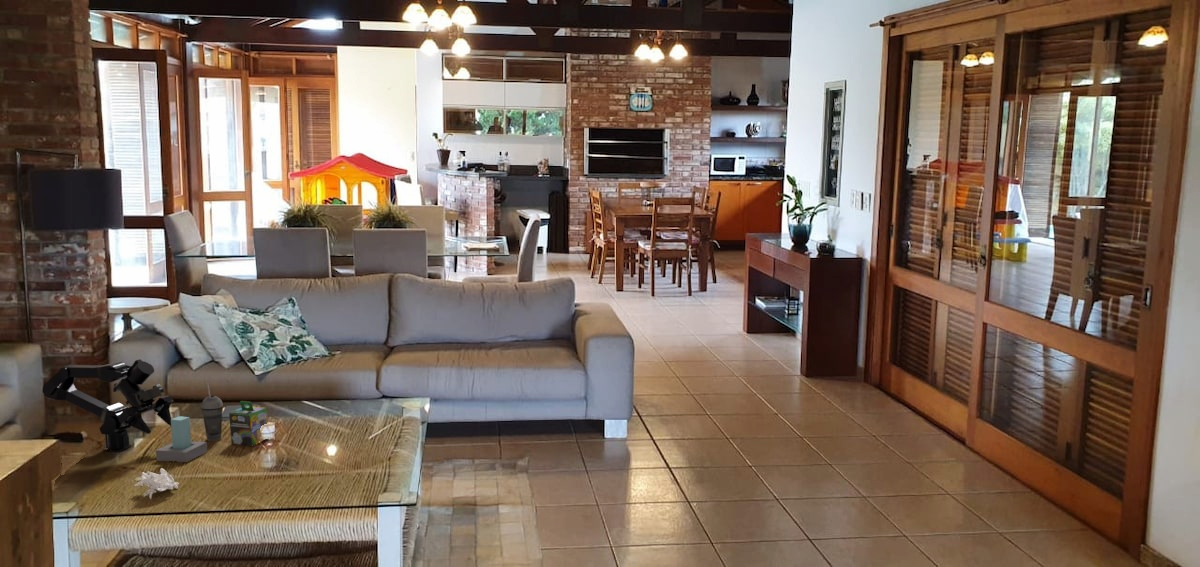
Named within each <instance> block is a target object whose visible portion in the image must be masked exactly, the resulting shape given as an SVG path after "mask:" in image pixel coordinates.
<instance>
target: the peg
mask: <svg viewBox="0 0 1200 567" xmlns="http://www.w3.org/2000/svg"><path fill="white" fill-rule="evenodd" d="M190 418H191V417H189V416H182V415H181V416H177V417H174V418H171V426H170V428H171V430H170V431H171V443H172V446H173V449H186V448H188V447H190V446H191V441H192V437H191V435H192V434H191V420H190Z"/></svg>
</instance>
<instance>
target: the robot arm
mask: <svg viewBox="0 0 1200 567" xmlns="http://www.w3.org/2000/svg"><path fill="white" fill-rule="evenodd" d="M154 373H155V368H154V366H153V365H152V364H151V363H149V362H146V361H143V360H142V359H140V358H139V359H135V361H134V362H133V364H131V365H128V364H126V363H125V362H123V361H117V362H112V363H111V362H110V363H108V364H104V365H100V364H99V365H95V364H93V365H92V364H91V365H90V364H73V363H72V364H69V365H68V364H67V365H64V366H62V367H61V368H59V370H58V371H57V372H56V374H54V375H53V376H52V377H50V379H48V381H47V382H45V383H44V384H43V386H42V394H43V396H44V397H45V398H47V399H49V400H53V401H60V402H61V401H62V402H67V403H70V404H72V405H74V406H76V407H78V408H79V409H82V410H83V411H85V412H88V413H90V414H92V415H94V416H96V417H98V418H100V420H101V422H102V425H100V427H99V431H100V434H101V435H104V436H105V437H104V438H105V439H104V440H105V448H108V449H107V450H112V451H111V452H121V451H123V450H126V449H128V448H130V447H132V444H130V438H129V437H130V436H129V434H128V429H131V427H132V428H135V429H137V430H139V431H141V432H143V433H146V434H148V435H149V434H151V433H152V431H151V428H150V427H149V426H148V424H147V423H146V422H145V420H144V419H143V417H142V414H144V413H148V412H152V411H154V412H155V413H156V415H157V416H158V417H159V418H160V419H161V420H162V421H163V422H165V423H166V424H167V425H168V426H170V427H171V419H172V417H171V416H172V415H171V412H170V411H171V410H170V407H171V406H172V403H173V402H174V399H173V398H172V396H171V395H164V396H162V394H163V393H164V392H165V390H164V387H163V386H162V385H161V384H160V383H158V384H155V385H152V388H148V389H147V388H142V387H141V386H140V385H143V384H145V383H146V382H147V380H149V378H150V377H151V376H152V375H153V374H154ZM77 378H79V379H81V378H83V379H91V378H92V379H98V380H100V381H102V382H108V383H113V382H117V381H119V382H118V383H114V384H113V389H112V392H113V393H118V392H120V393H121V394H122V396H123V397H124V398H125V399H126V401H125V404H126V405H127V406H126V405H123V404H122V403H120V402H117V403H114V404H110V405H109V404H107V403H105V402H103V401H102V400H99V399H98V398H95V397H93V396H91V395H89V394H86V393H84V392H82V391H81V390H80V389H79V390H78V389H77V388H76V386H75V384H74V383H75V382H76V379H77ZM161 396H162V397H161ZM157 397H159V398H158V399H156V398H157ZM155 401H156V402H155ZM128 405H130V407H129V406H128ZM105 450H106V449H105Z"/></svg>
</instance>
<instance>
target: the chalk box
mask: <svg viewBox="0 0 1200 567" xmlns="http://www.w3.org/2000/svg"><path fill="white" fill-rule="evenodd" d="M239 403H240V404H239V405H241V407H242V408H239V409H237V410H235V411H232V412H230V413H229V417H230V421H229V427H230V441H231V445H239V446H245V445H246V446H245V447H253V446H252V445H254V446H256V445H257V444H256V443H258V442H259V441H260V428H261V426H262V425H264V424H267V423H268V419H269V418H268V410H267V409H268V408H267V407H265V406H262V407H261V406H260V407H253V406H252V404H253V403H252V401H247V400H240V402H239ZM244 405H249V406H246V407H245V406H244ZM268 424H269V423H268ZM255 444H256V445H255ZM258 444H259V443H258Z"/></svg>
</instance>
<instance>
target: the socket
mask: <svg viewBox="0 0 1200 567" xmlns="http://www.w3.org/2000/svg"><path fill="white" fill-rule="evenodd" d="M207 442H208V441H193V440H191V446H190V447H188V448H186V449H173V446H172V442H171V443H168V444H166V445H165V446H162V447H160V448H158V449H156V450H155V455H156V456H155V457H156V461H157V462H158V461H159V462H169V461H173V462H174V461H177V462H176V463H183V462H187V463H189V462H191V461H193V460H195V459H197V458H199V457H201V456H203V455H205V454H207V453H208V443H207ZM198 456H199V457H198ZM196 457H197V458H196ZM194 458H195V459H194ZM192 459H193V460H192ZM190 460H191V461H190ZM188 461H189V462H188ZM173 462H172V463H173ZM174 463H175V462H174Z"/></svg>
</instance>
